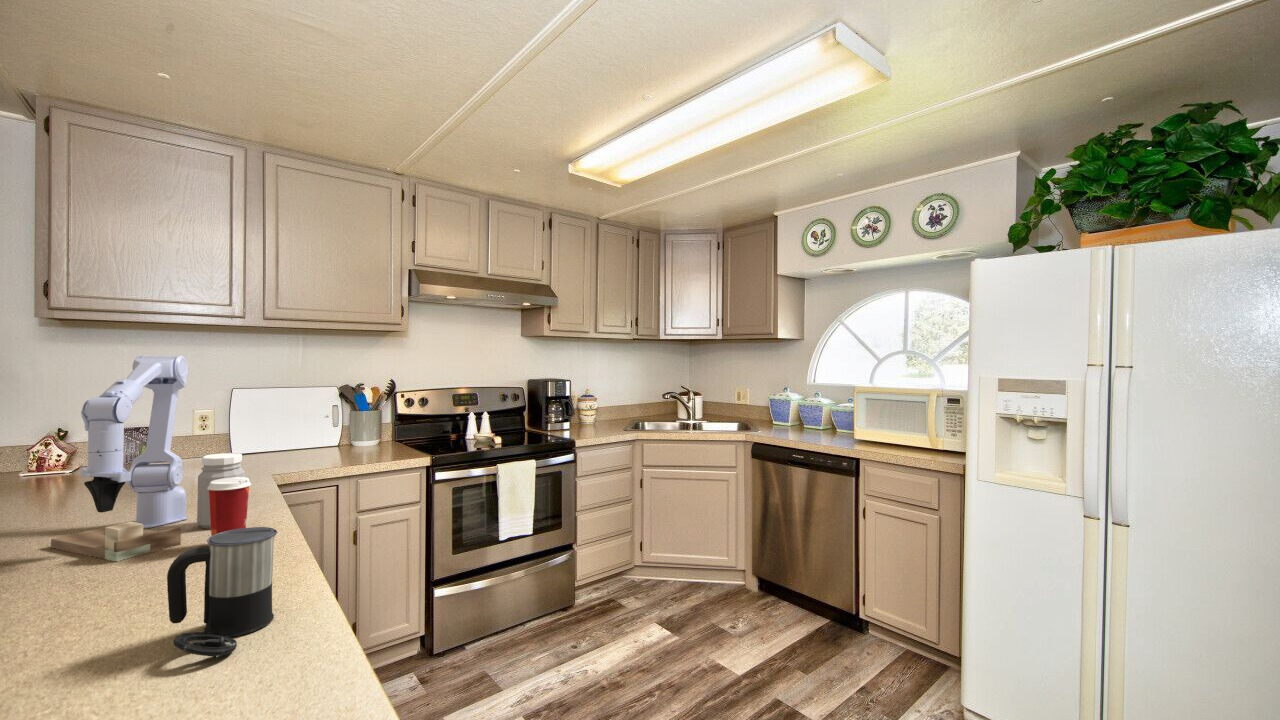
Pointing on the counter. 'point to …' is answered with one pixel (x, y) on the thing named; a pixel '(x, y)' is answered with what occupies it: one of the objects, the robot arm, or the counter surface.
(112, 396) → the robot arm
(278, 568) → the counter surface
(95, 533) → the deck
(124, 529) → the block
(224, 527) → the coffee cup
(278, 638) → the counter surface
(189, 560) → the milk frother
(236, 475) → the jar
